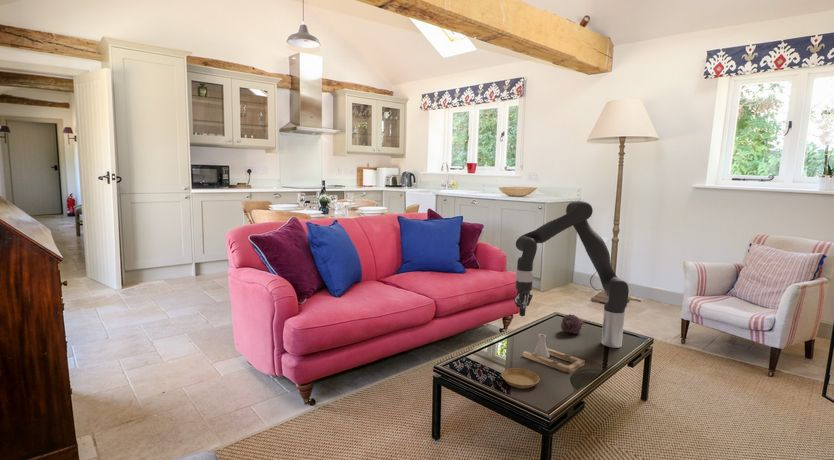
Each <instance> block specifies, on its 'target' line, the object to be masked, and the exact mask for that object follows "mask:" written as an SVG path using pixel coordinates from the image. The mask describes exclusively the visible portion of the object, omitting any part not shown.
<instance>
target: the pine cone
mask: <svg viewBox="0 0 834 460" xmlns="http://www.w3.org/2000/svg"><path fill="white" fill-rule="evenodd" d="M561 320H562V321H561V323H560V328H561V330H562V331H563V332H565V333H571V334H575V335H576V334H579V333H580V331H581V329H582V327H583V325H585V323H586V322H585V321H583V320H581V319H580V318H579V317H578V316H576V315H574V314H568V315H567V314H566V315H565V316H564V318H562V319H561Z"/></svg>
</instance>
